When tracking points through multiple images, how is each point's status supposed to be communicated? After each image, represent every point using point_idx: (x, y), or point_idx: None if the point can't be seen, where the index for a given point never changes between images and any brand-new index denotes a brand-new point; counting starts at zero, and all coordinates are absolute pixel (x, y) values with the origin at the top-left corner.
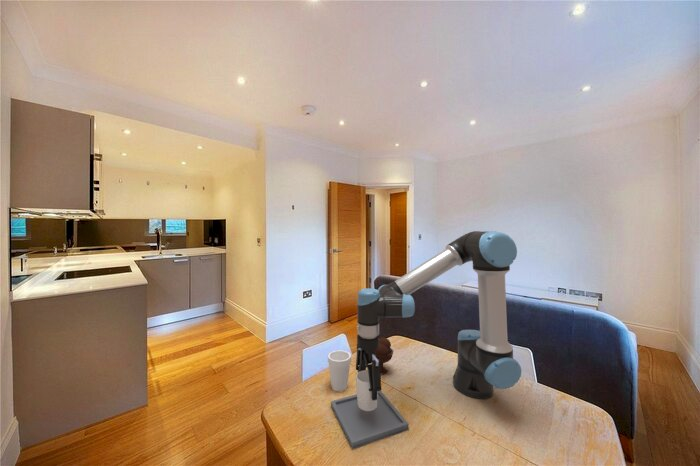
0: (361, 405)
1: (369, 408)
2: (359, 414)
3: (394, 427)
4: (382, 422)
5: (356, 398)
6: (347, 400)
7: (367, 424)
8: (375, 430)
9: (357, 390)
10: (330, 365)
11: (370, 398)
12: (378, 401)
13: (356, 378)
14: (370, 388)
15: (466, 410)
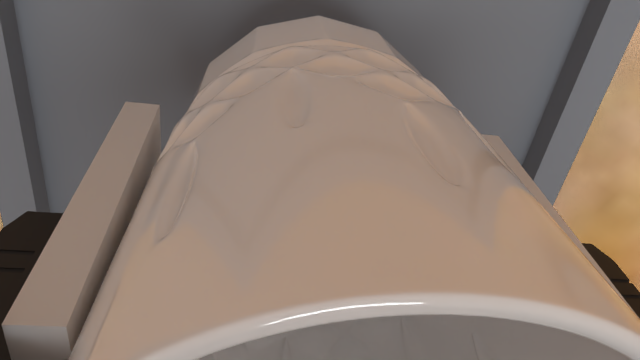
0: (259, 42)
1: (136, 105)
2: (347, 17)
3: (9, 203)
4: None
5: (550, 110)
6: (597, 7)
7: (177, 14)
8: (70, 42)
9: (369, 98)
10: None
11: (79, 200)
12: None
13: (519, 279)
14: (60, 352)
15: None
